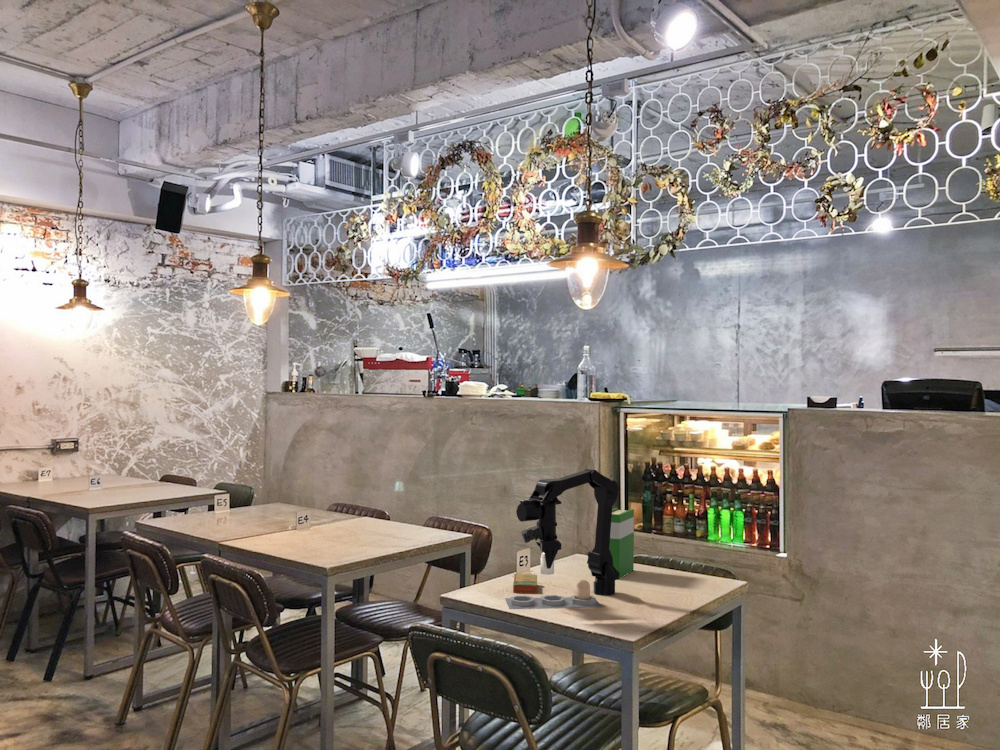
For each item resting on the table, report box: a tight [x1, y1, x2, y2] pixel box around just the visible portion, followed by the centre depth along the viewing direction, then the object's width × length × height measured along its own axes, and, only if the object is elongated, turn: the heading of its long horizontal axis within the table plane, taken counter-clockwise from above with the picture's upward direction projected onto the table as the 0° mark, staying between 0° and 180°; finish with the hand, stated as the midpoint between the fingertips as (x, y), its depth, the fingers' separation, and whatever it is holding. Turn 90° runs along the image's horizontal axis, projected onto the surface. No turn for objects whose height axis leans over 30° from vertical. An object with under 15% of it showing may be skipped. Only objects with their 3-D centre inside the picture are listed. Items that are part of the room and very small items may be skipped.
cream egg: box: [540, 552, 555, 576], centre depth 254 cm, size 4×4×7 cm
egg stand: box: [504, 594, 603, 610], centre depth 253 cm, size 30×13×2 cm, turn 96°
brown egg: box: [575, 579, 591, 600], centre depth 254 cm, size 4×4×7 cm
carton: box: [512, 573, 538, 594], centre depth 274 cm, size 8×16×4 cm, turn 177°
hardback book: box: [609, 507, 635, 580], centre depth 301 cm, size 18×7×24 cm, turn 153°
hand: (547, 566), depth 254 cm, fingers closed on cream egg, 4 cm apart
